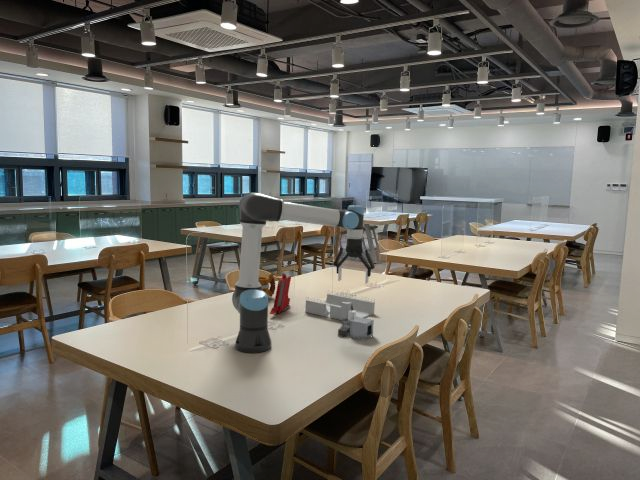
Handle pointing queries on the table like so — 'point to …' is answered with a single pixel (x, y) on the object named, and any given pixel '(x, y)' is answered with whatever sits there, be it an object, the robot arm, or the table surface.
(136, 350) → the table surface
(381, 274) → the table surface
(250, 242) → the robot arm
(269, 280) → the mug
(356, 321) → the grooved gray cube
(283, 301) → the tool
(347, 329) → the ratchet
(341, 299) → the skate ramp
